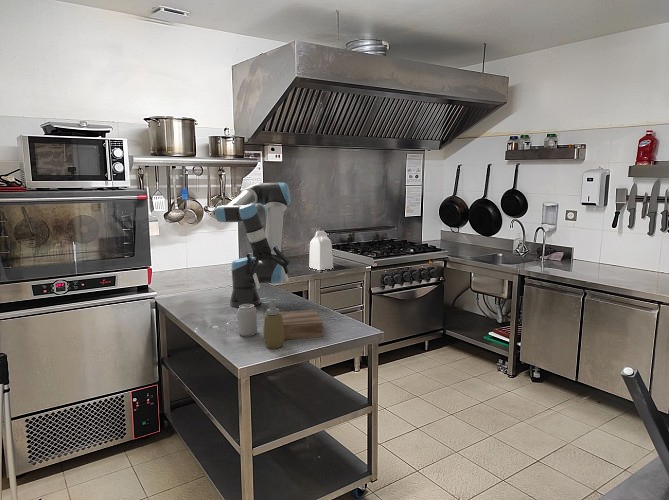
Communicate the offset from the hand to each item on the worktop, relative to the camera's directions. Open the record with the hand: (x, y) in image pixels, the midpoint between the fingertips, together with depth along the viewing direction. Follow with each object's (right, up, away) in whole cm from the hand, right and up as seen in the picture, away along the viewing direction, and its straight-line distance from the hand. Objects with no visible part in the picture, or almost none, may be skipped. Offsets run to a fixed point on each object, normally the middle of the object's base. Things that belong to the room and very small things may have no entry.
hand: (273, 284), depth 212 cm
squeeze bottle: (+5, -21, -32) cm, 39 cm away
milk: (+18, +2, +114) cm, 115 cm away
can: (-8, -19, -17) cm, 27 cm away
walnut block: (+12, -18, -16) cm, 27 cm away
